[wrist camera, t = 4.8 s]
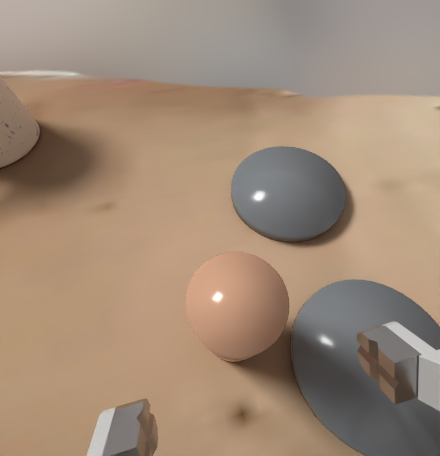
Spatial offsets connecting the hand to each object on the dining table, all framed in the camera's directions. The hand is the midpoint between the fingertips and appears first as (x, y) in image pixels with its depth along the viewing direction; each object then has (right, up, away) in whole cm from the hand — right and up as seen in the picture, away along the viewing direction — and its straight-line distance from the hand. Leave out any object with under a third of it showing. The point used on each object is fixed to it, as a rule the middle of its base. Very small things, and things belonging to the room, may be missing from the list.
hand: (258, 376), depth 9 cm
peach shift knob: (-1, -2, +8) cm, 8 cm away
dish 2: (+8, -3, +7) cm, 11 cm away
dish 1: (+5, +9, +14) cm, 17 cm away
